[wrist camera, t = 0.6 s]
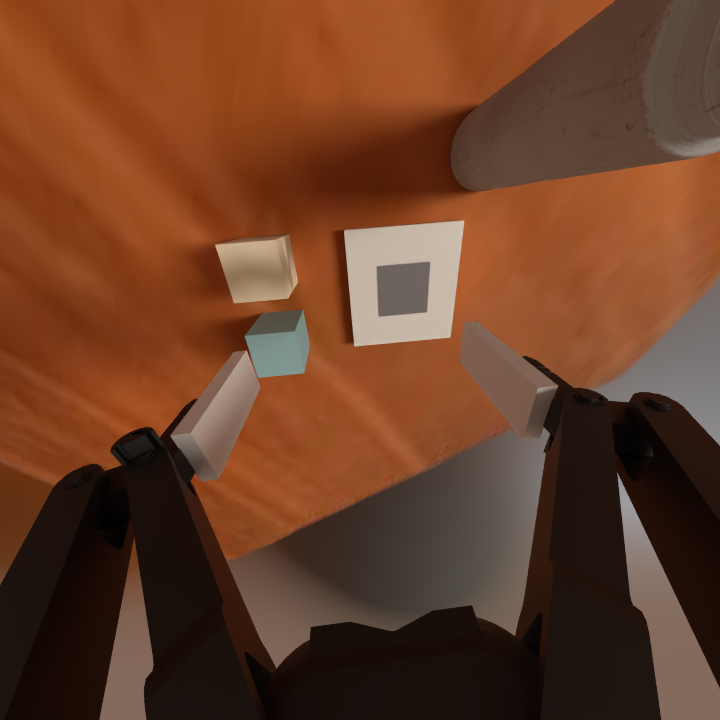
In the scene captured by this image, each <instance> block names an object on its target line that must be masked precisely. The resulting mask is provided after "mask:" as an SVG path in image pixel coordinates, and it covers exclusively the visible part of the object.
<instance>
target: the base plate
mask: <svg viewBox="0 0 720 720" xmlns="http://www.w3.org/2000/svg"><path fill="white" fill-rule="evenodd" d="M463 227H464V221H462V220H458V221H445V222H433V223H421V224H409V225H396V226H384V227H372V228H359V229H347V230H344V237H345V248H346V260H347V271H348V282H349V293H350V304H351V315H352V326H353V338H354V346H363V345H374V344H385V343H396V342H406V341H417V340H428V339H439V338H449V337H450V336H451V328H452V319H453V311H454V303H455V294H456V286H457V278H458V269H459V261H460V252H461V244H462V236H463Z"/></svg>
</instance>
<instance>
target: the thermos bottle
mask: <svg viewBox="0 0 720 720" xmlns="http://www.w3.org/2000/svg"><path fill="white" fill-rule="evenodd" d="M719 150H720V0H616V1H614V2H613V3H612V4H611V5H609V6H608V7H607V8H605V9H604V10H603V11H601V12H600V13H599V14H598V15H596V16H595V17H594V18H592V19H591V20H590V21H588V22H587V23H586V24H585V25H583V26H582V27H581V28H579V29H578V30H577V31H575V32H574V33H573V34H572V35H570V36H569V37H568V38H566V39H565V40H564V41H562V42H561V43H560V44H559V45H557V46H556V47H555V48H553V49H552V50H551V51H549V52H548V53H547V54H546V55H544V56H543V57H542V58H540V59H539V60H538V61H537V62H535V63H534V64H533V65H532V66H531V67H529V68H528V69H527V70H526V71H525V72H523V73H522V74H521V75H519V76H518V77H517V78H515V79H514V80H512V81H511V82H509V83H508V84H507V85H505V86H504V87H503V88H501V89H500V90H499V91H497V92H496V93H495V94H494V95H492V96H491V97H490V98H488V99H487V100H486V101H484V102H483V103H482V104H481V105H479V106H478V107H477V108H475V109H474V110H473V111H472V112H470V113H469V114H468V115H467V116H466V118H465V119H464V120H463V121H462V122H461V124H460V126H459V127H458V129H457V131H456V134H455V136H454V139H453V142H452V146H451V154H450V159H451V168H452V172H453V174H454V176H455V178H456V180H457V181H458V183H459V184H460V185H461V186H463V187H464V188H466V189H468V190H471V191H485V190H492V189H496V188H503V187H510V186H517V185H523V184H528V183H533V182H538V181H546V180H555V179H562V178H568V177H575V176H581V175H588V174H594V173H601V172H607V171H614V170H620V169H627V168H633V167H640V166H646V165H652V164H659V163H665V162H672V161H678V160H685V159H691V158H696V157H700V156H704V155H708V154H712V153H715V152H717V151H719Z"/></svg>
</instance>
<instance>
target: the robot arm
mask: <svg viewBox="0 0 720 720" xmlns="http://www.w3.org/2000/svg"><path fill="white" fill-rule="evenodd" d="M460 363H461V364H462V365H463V367H464V368H465V369H466V370H467V372H468V373H469V374H470V375H471V377H472V378H473V379H474V380H475V381H476V383H477V384H478V385H479V386H480V388H481V389H482V390H483V391H484V393H485V394H486V395H487V396H488V398H489V399H490V400H491V401H492V403H493V404H494V405H495V406H496V408H497V409H498V410H499V411H500V412H501V414H502V415H503V416H504V417H505V419H506V420H507V421H508V422H509V424H510V425H511V426H512V427H513V429H514V430H515V431H516V432H517V433H518V435H519V436H520V437H521V439H531V438H539V437H540V436H541V433H542V430H543V427H544V428H546V430H547V431H548V432H549V433H550V436H549V438H548V441H547V444H546V446H545V449H544V452H545V453H546V456H545V463H544V470H543V476H542V483H541V490H540V496H539V503H538V509H537V516H536V523H535V530H534V536H533V543H532V550H531V557H530V563H529V570H528V576H527V583H526V590H525V596H524V602H523V606H522V610H521V614H520V617H519V621H518V625H517V629H516V635H515V636H514V635H512V634H511V633H509V632H508V631H506V630H505V629H503V628H501V627H500V626H498V625H496V624H494V623H492V622H489V621H487V620H484V619H481V618H477V617H476V616H475V613H474V610H473V607H472V605H471V606H464V607H457V608H449V609H442V610H435V611H431V612H429V613H428V614H426V615H424V616H422V617H420V618H418V619H416V620H415V621H413V622H411V623H410V624H407V625H405V626H404V627H402V628H400V629H398V630H396V631H387V630H383V629H378V628H375V627H370V626H366V625H362V624H358V623H353V622H345V623H338V624H330V625H322V626H315V627H311V632H310V640H308V641H307V642H305V643H303V644H302V645H301V646H299V647H298V648H296V649H295V650H294V651H293V652H292V653H291V654H290V655H289V656H287V657H286V658H285V660H284V661H283V662H282V663H281V664H280V665H279V667H278V668H277V669H276V667H275V665H274V663H273V661H272V659H271V657H270V656H269V653H268V652H267V650H266V648H265V647H264V645H263V643H262V641H261V640H260V638H259V635H258V633H257V631H256V629H255V626H254V624H253V622H252V620H251V617H250V615H249V612H248V610H247V608H246V605H245V603H244V601H243V599H242V596H241V594H240V592H239V589H238V587H237V585H236V582H235V580H234V578H233V575H232V573H231V571H230V568H229V566H228V564H227V562H226V559H225V557H224V555H223V552H222V550H221V548H220V545H219V543H218V541H217V538H216V536H215V534H214V531H213V529H212V527H211V525H210V522H209V520H208V518H207V515H206V513H205V511H204V508H203V506H202V504H201V501H200V499H199V497H198V495H197V492H196V490H195V488H194V486H193V484H192V483H191V479H192V477H193V476H194V474H195V473H196V475H197V476H198V478H199V479H200V481H209V480H216V479H219V478H220V476H221V473H222V471H223V469H224V467H225V465H226V462H227V460H228V458H229V456H230V454H231V451H232V449H233V447H234V445H235V443H236V440H237V438H238V436H239V434H240V431H241V429H242V427H243V425H244V423H245V420H246V418H247V416H248V414H249V412H250V409H251V407H252V405H253V403H254V401H255V398H256V396H257V394H258V392H259V389H260V385H259V382H258V380H257V377H256V374H255V372H254V369H253V366H252V364H251V361H250V358H249V356H248V353H247V350H245V351H237V352H233V354H232V355H231V356H230V358H229V359H228V360H227V361H226V363H225V364H224V365H223V367H222V368H221V369H220V371H219V372H218V373H217V375H216V376H215V377H214V379H213V380H212V381H211V383H210V384H209V385H208V387H207V388H206V389H205V390H204V392H203V393H202V394H201V396H200V397H199V398H198V399H194V400H193V401H191V402H190V403H189V404H187V405H186V406H185V407H184V408H183V409H182V410H181V412H180V413H179V414H178V416H177V417H176V418H175V419H174V420H173V422H172V423H171V424H170V425H169V427H168V428H167V429H166V430H165V432H164V433H163V434H162V435H161V437H160V438H159V436H158V435H157V433H156V432H155V430H154V429H153V428H150V427H145V428H140V429H137V430H134V431H132V432H130V433H128V434H126V435H124V436H123V437H121V438H120V439H119V440H118V441H116V442H115V444H114V445H113V446H112V447H111V451H110V452H111V453H112V454H113V456H114V457H115V458H116V459H117V460H118V461H119V462H120V463H121V466H119V467H116V468H113V469H110V470H107V471H104V469H103V468H102V467H101V466H99V465H98V464H90V465H86V466H83V467H81V468H79V469H76V470H74V471H72V472H70V474H67V475H66V476H65V477H64V478H63V479H61V480H60V481H59V482H58V483H57V484H56V485H55V487H54V488H53V489H52V491H51V493H50V494H49V496H48V498H47V500H46V502H45V504H44V506H43V507H42V509H41V511H40V513H39V515H38V517H37V518H36V520H35V522H34V524H33V526H32V528H31V530H30V531H29V533H28V535H27V537H26V539H25V541H24V542H23V544H22V546H21V548H20V550H19V552H18V553H17V555H16V557H15V559H14V561H13V563H12V565H11V567H10V568H9V570H8V572H7V574H6V576H5V577H4V579H3V581H2V583H1V585H0V720H99V718H100V714H101V708H102V703H103V698H104V692H105V687H106V682H107V676H108V671H109V666H110V661H111V656H112V650H113V645H114V640H115V635H116V629H117V624H118V619H119V614H120V608H121V603H122V598H123V593H124V587H125V582H126V577H127V571H128V566H129V560H130V555H131V551H132V545H133V540H134V537H135V544H136V550H137V556H138V563H139V570H140V576H141V582H142V589H143V595H144V602H145V607H146V615H147V621H148V628H149V634H150V640H151V647H152V653H153V663H154V666H153V671H152V672H151V673H150V674H149V676H148V677H147V678H146V682H145V686H144V703H145V712H146V720H661V715H660V708H659V700H658V693H657V686H656V679H655V672H654V664H653V657H652V650H651V643H650V635H649V630H648V626H647V622H646V619H645V617H644V615H643V613H642V611H640V610H639V609H638V608H636V607H635V606H633V604H632V601H631V598H630V591H629V582H628V573H627V563H626V553H625V544H624V534H623V524H622V515H621V506H620V496H619V487H618V476H617V473H618V474H619V477H620V479H621V481H622V483H623V485H624V487H625V489H626V492H627V494H628V496H629V498H630V500H631V502H632V504H633V506H634V508H635V510H636V513H637V515H638V517H639V519H640V521H641V523H642V525H643V527H644V529H645V531H646V534H647V536H648V538H649V540H650V542H651V544H652V546H653V548H654V550H655V552H656V555H657V557H658V559H659V561H660V563H661V565H662V567H663V569H664V571H665V574H666V576H667V578H668V580H669V582H670V584H671V586H672V588H673V590H674V593H675V595H676V597H677V599H678V601H679V603H680V605H681V607H682V609H683V611H684V614H685V616H686V618H687V620H688V622H689V624H690V626H691V628H692V630H693V633H694V635H695V637H696V639H697V641H698V643H699V645H700V647H701V649H702V651H703V654H704V656H705V657H706V660H707V662H708V664H709V666H710V668H711V671H712V673H713V675H714V677H715V679H716V681H717V683H718V685H719V687H720V446H719V444H717V442H716V441H715V440H714V439H713V438H712V437H711V436H710V435H709V434H708V433H707V432H706V431H705V429H704V428H702V426H701V425H700V424H699V423H698V422H697V421H696V420H695V419H694V418H693V417H692V416H691V414H689V412H688V411H687V410H686V409H685V408H684V407H683V406H682V405H680V404H679V403H678V402H676V401H674V400H672V399H670V398H668V397H666V396H662V395H660V394H654V393H649V392H639V393H635V394H634V395H633V396H632V397H631V399H630V401H629V402H617V401H608V399H607V398H605V397H604V396H603V395H601V394H599V393H597V392H595V391H592V390H588V389H583V388H573V387H572V386H570V385H569V384H568V383H566V382H565V381H564V380H562V379H561V378H560V377H558V376H557V375H556V374H554V373H552V371H550V370H549V369H548V368H545V366H544V365H542V364H541V363H540V362H538V361H537V360H534V359H532V358H530V357H527V356H523V357H521V356H520V355H519V354H517V353H516V352H515V351H514V350H512V349H511V348H510V347H509V346H507V345H506V344H505V343H503V342H502V341H501V340H500V339H498V338H497V337H496V336H495V335H493V334H492V333H491V332H490V331H488V330H487V329H486V328H485V327H483V326H482V325H481V324H479V323H478V322H477V321H473V322H466V323H464V326H463V336H462V345H461V355H460Z"/></svg>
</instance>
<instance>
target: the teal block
mask: <svg viewBox="0 0 720 720" xmlns="http://www.w3.org/2000/svg"><path fill="white" fill-rule="evenodd" d="M245 339H246V342H247V345H248V348H249V351H250V354H251V357H252V360H253V363H254V367H255V370H256V373H257V376H258V378H259V377H269V376H280V375H290V374H301V373H304V370H305V366H306V362H307V357H308V353H309V348H310V344H309V338H308V333H307V328H306V322H305V317H304V312H303V310H294V311H283V312H272V313H262V314H261V315H260V317H259V318H258V319H257V321H256V322H255V323H254V324H253V326H252V327H251V328H250V330H249V331H248V332H247V333H246V335H245Z"/></svg>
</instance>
